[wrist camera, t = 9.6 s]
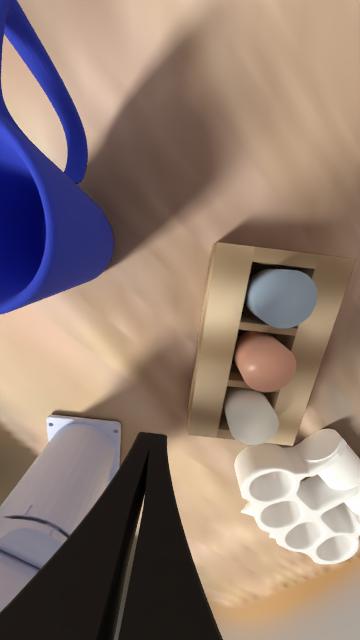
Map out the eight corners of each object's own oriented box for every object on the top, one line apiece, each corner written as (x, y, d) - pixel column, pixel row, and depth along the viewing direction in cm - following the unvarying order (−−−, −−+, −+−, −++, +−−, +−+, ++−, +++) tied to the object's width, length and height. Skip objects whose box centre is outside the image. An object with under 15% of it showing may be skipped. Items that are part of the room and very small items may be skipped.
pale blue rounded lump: (285, 319, 17) (307, 331, 14) (239, 314, 17) (251, 325, 14) (298, 271, 16) (325, 273, 13) (248, 265, 16) (264, 266, 13)
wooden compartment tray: (278, 421, 22) (292, 445, 19) (187, 411, 22) (187, 434, 19) (327, 259, 17) (356, 258, 14) (211, 245, 17) (217, 242, 14)
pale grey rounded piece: (258, 419, 20) (272, 447, 17) (219, 414, 20) (225, 442, 17) (268, 384, 19) (284, 407, 16) (226, 379, 19) (234, 402, 16)
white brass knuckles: (388, 493, 25) (289, 543, 28) (311, 402, 22) (206, 469, 25) (419, 527, 22) (303, 580, 25) (333, 426, 18) (210, 500, 21)
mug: (149, 152, 15) (91, -32, 6) (114, 300, 19) (40, 341, 9) (41, 112, 15) (-220, -164, 5) (25, 272, 18) (-157, 284, 8)
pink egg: (271, 373, 19) (288, 394, 16) (228, 368, 19) (237, 389, 16) (281, 332, 18) (302, 347, 14) (236, 327, 18) (247, 341, 14)
